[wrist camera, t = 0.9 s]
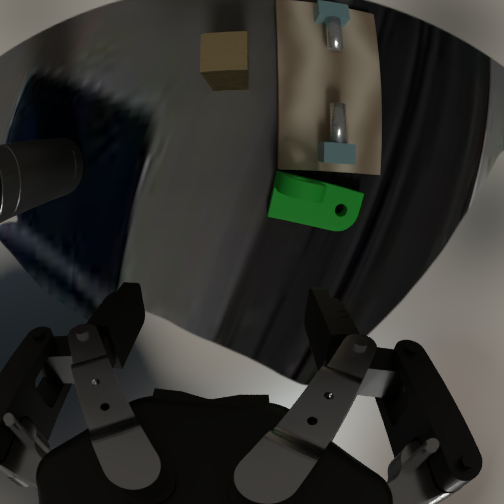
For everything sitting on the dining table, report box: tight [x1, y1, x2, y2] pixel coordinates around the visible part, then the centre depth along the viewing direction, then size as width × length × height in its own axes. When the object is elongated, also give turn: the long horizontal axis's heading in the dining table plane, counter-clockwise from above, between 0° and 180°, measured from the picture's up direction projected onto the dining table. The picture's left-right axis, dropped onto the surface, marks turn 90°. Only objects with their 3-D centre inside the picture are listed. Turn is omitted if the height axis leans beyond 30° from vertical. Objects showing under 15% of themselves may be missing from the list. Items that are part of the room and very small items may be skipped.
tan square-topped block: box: [200, 31, 248, 91], centre depth 26 cm, size 4×4×10 cm
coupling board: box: [275, 0, 382, 175], centre depth 28 cm, size 14×25×4 cm, turn 0°
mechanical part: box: [267, 170, 364, 231], centre depth 33 cm, size 12×6×8 cm, turn 78°
